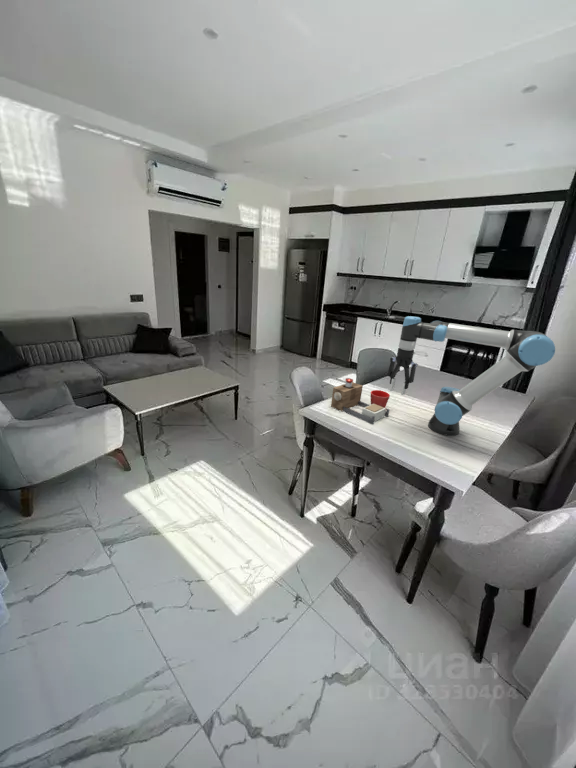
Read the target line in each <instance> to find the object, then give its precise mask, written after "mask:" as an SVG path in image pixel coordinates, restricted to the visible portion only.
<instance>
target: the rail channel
mask: <svg viewBox="0 0 576 768" xmlns="http://www.w3.org/2000/svg"><path fill="white" fill-rule="evenodd" d="M369 405H370V404H369V403H366V402H363V401H361V400H360V401H358V405H357V406H359V407H362V408H365V407H367V406H369ZM342 412H344V413H346V414H348V415H351V416H352V417H356V418H357V419H360V420H362V421H364V422H366V423H368V424H370V425H374V424H375V421H374V420H375V416H372V418H370V417H367V416H365V415H363V414H362V413H360V412H358V411H356V410H353V409H351V408H347V407H343V411H342ZM389 414H390V409H389V408H386V411H385V416H384V417H386V418H389Z"/></svg>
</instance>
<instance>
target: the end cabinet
mask: <svg viewBox="0 0 576 768" xmlns="http://www.w3.org/2000/svg"><path fill="white" fill-rule="evenodd" d="M345 385H346V383H344V384H340V385H338V386H334V387H333V388H332V396H331V403H330V407H332V408H333V409H335V410H338V411H339V412H344V411H343V407H347V408H349V409H351V408H353V407H356V406H359V405H358V401H361V399H362V393H363V387H364V386H363V385H362V384H358V383H356V382H354V381H353V382H352V387H351V388H350V389H348V388H346V387H345Z"/></svg>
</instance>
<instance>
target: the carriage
mask: <svg viewBox="0 0 576 768" xmlns="http://www.w3.org/2000/svg"><path fill="white" fill-rule="evenodd" d="M386 410H387V408H386V407H385V408H384V407H381V406H379V405H376V404H372V405H371V404H369V406H367V407H365V408H364V407H362V410H361V414H363V415H365V416H367V417H370V418H372V416H375V420H374V422H376V421H378V420H381V419H383V418H385V417H386V416H385V411H386Z"/></svg>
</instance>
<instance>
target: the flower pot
mask: <svg viewBox="0 0 576 768" xmlns="http://www.w3.org/2000/svg"><path fill="white" fill-rule="evenodd" d="M390 396H391V395H390V393H389V392H387V391H384V390H380V389H374V390H371V391H370V405H372V404H376V405H379V406H381V407H384V408H386V406H387V404H388V401H389V399H390Z"/></svg>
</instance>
